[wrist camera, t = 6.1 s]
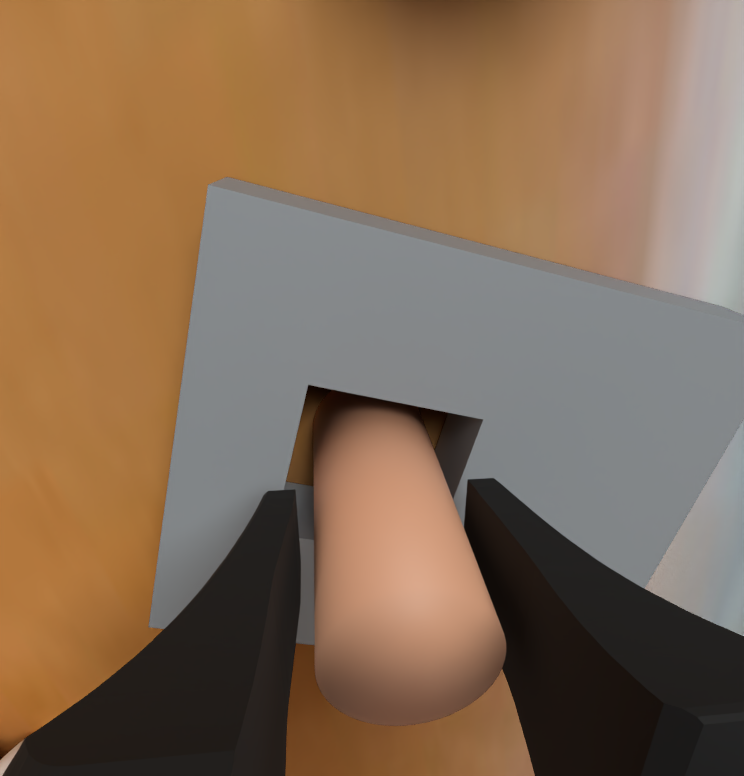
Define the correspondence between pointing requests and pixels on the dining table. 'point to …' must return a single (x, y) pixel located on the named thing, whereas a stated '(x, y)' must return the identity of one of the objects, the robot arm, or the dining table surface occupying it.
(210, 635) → the robot arm
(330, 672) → the peg
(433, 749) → the dining table surface
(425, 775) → the dining table surface
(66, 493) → the dining table surface
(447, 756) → the dining table surface
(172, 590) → the socket board
